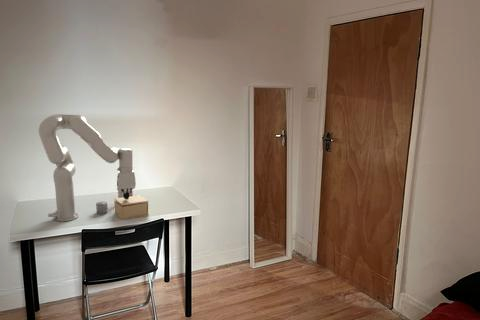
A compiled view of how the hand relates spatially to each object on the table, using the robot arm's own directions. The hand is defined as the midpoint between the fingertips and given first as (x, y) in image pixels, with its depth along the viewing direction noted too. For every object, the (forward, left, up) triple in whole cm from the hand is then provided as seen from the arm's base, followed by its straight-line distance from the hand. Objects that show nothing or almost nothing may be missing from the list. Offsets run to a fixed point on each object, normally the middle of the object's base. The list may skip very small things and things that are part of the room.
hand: (126, 198), depth 223 cm
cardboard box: (+3, 0, -10) cm, 11 cm away
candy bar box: (+9, +26, -10) cm, 29 cm away
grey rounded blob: (-11, +12, -10) cm, 19 cm away
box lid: (+3, 0, -2) cm, 3 cm away
